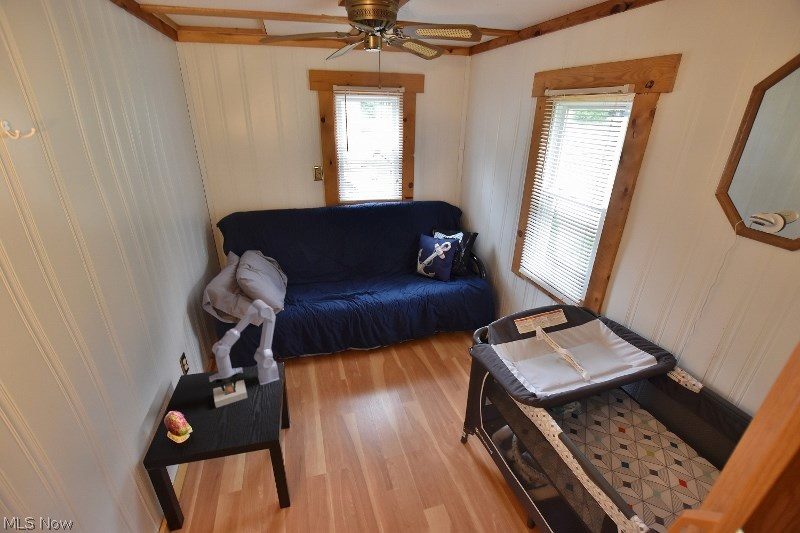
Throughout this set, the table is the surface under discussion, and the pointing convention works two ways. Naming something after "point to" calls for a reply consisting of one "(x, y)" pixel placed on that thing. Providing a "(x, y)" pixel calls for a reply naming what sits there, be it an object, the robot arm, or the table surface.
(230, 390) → the peg
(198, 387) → the table surface
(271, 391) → the table surface
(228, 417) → the table surface
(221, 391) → the socket plate
